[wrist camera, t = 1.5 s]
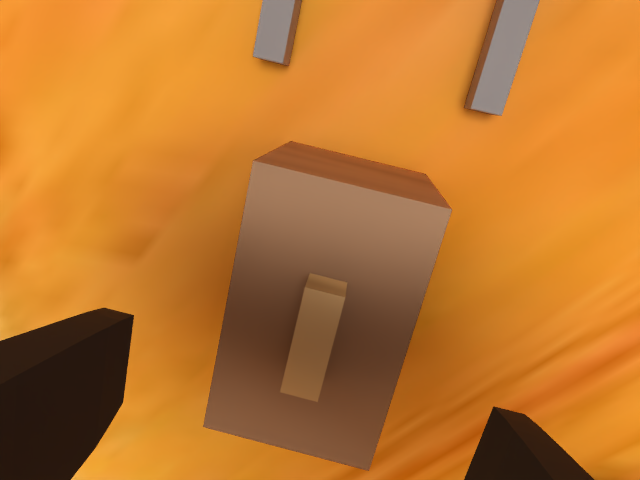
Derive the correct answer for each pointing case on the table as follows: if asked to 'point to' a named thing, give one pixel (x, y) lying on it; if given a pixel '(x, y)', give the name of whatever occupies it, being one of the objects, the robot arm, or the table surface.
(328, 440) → the cabinet block
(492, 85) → the wall board
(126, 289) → the table surface
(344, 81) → the table surface
